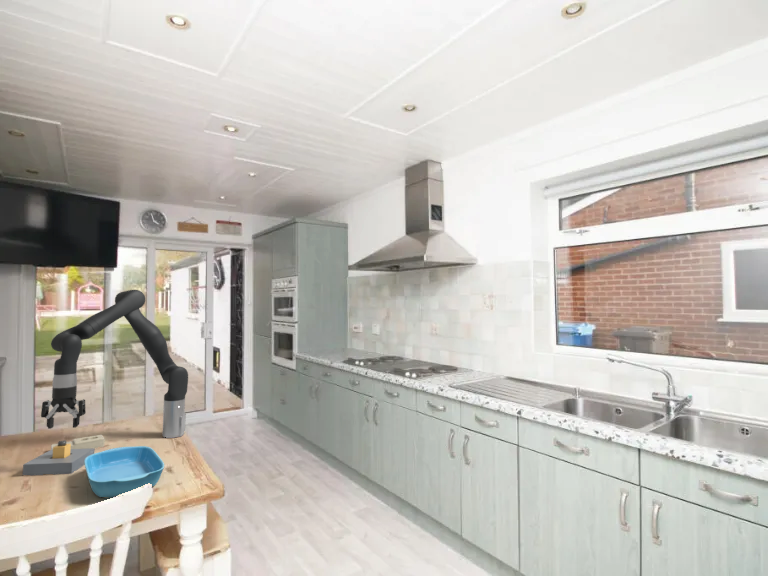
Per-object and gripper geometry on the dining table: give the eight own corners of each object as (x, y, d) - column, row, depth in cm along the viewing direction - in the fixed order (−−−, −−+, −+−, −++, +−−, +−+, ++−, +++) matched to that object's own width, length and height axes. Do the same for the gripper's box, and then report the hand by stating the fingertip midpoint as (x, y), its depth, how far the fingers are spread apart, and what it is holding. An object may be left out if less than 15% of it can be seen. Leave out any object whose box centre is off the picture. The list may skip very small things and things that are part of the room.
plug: (69, 461, 162) (71, 439, 163) (63, 465, 158) (64, 442, 159) (58, 462, 162) (59, 440, 162) (52, 466, 158) (53, 443, 158)
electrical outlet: (51, 442, 177) (102, 434, 189) (51, 452, 177) (101, 443, 189) (52, 446, 172) (104, 438, 184) (52, 456, 171) (104, 447, 183)
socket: (94, 458, 169) (94, 448, 169) (71, 473, 153) (72, 462, 153) (50, 460, 166) (50, 449, 167) (22, 475, 151) (23, 464, 151)
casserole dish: (170, 490, 141) (171, 468, 142) (90, 509, 127) (91, 485, 127) (147, 459, 169) (148, 441, 170) (80, 472, 155) (81, 453, 155)
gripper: (90, 383, 166) (88, 424, 166) (50, 384, 164) (48, 425, 163) (79, 386, 159) (77, 429, 158) (37, 387, 156) (35, 431, 156)
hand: (63, 427), depth 161 cm, fingers open, 8 cm apart
